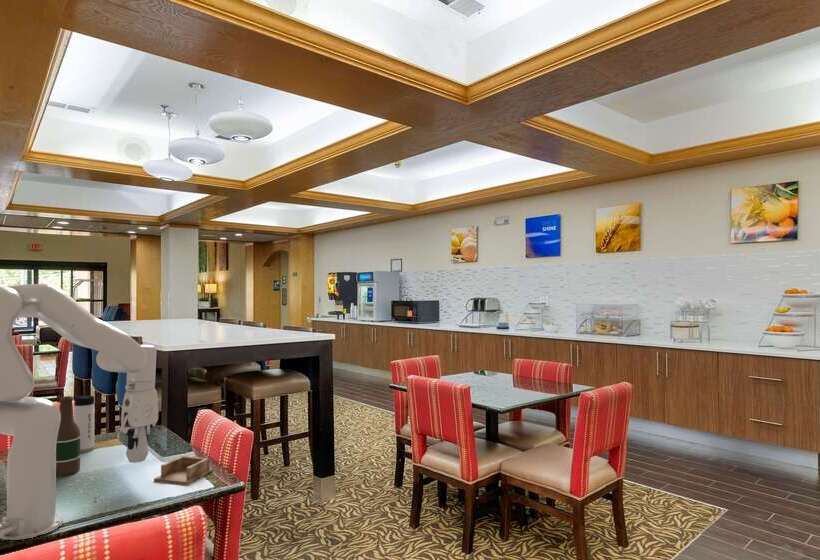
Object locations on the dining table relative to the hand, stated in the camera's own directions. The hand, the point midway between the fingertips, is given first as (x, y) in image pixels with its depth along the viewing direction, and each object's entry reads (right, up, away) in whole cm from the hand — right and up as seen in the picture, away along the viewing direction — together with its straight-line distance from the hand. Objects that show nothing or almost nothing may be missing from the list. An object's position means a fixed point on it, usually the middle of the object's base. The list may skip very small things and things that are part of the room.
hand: (137, 449), depth 151 cm
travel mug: (-39, -12, +36) cm, 54 cm away
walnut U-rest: (+10, -11, +9) cm, 17 cm away
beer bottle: (-29, -12, +12) cm, 34 cm away
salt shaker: (0, -4, 0) cm, 4 cm away
